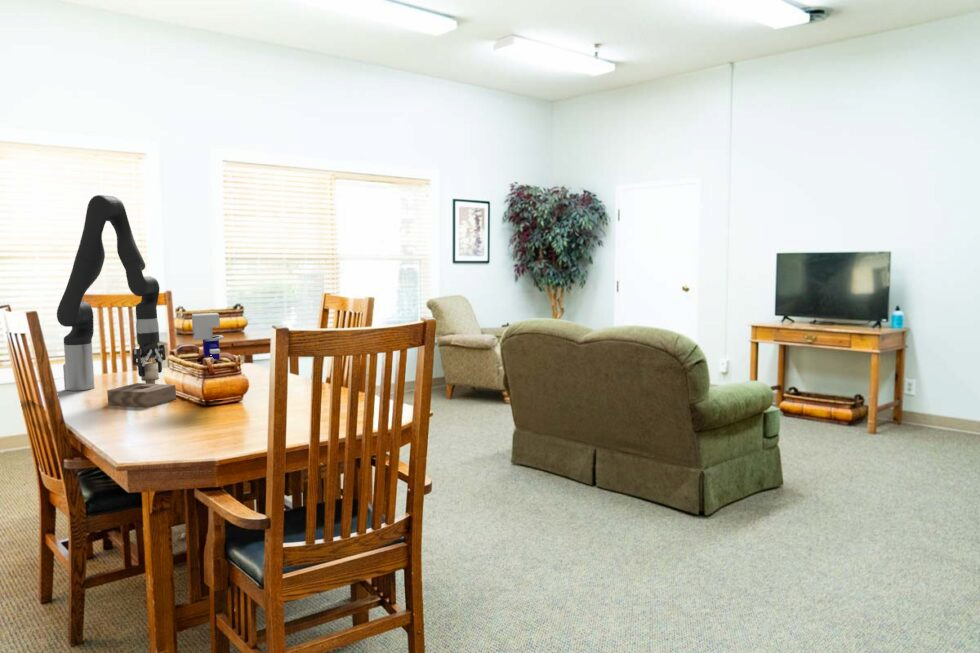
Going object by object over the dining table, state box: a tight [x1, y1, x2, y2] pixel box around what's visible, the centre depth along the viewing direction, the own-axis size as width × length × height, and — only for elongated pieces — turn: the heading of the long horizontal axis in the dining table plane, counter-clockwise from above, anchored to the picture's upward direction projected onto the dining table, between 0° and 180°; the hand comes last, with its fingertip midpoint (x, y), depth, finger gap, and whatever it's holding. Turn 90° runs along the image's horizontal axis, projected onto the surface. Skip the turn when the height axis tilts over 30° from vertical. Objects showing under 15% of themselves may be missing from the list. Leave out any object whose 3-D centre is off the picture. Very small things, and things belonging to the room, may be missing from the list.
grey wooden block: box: [106, 382, 177, 408], centre depth 256 cm, size 16×14×5 cm
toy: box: [191, 312, 225, 359], centre depth 257 cm, size 35×10×30 cm, turn 25°
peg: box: [141, 361, 160, 384], centre depth 275 cm, size 6×6×10 cm
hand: (150, 374), depth 274 cm, fingers open, 8 cm apart
